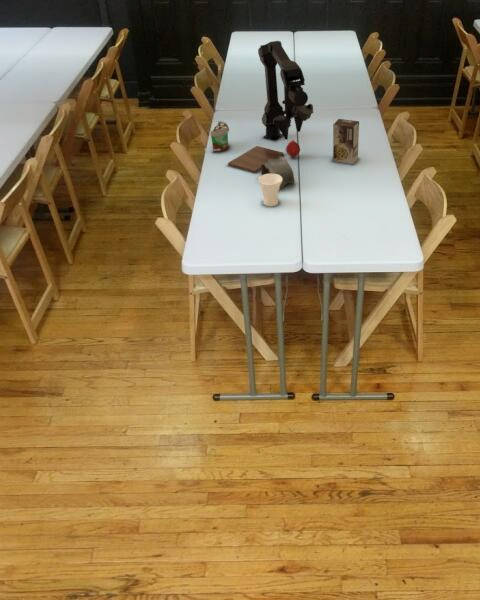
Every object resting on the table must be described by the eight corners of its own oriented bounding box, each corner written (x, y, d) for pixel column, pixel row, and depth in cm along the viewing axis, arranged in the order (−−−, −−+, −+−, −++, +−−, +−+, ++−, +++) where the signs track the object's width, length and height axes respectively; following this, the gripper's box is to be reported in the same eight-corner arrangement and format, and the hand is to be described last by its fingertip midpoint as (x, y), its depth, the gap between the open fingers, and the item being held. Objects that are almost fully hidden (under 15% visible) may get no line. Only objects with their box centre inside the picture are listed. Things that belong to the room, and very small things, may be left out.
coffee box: (358, 158, 261) (359, 121, 251) (353, 164, 256) (354, 126, 247) (338, 155, 264) (338, 118, 254) (332, 161, 260) (332, 123, 250)
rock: (257, 173, 252) (256, 155, 248) (284, 169, 255) (283, 151, 250) (268, 193, 238) (267, 174, 234) (297, 189, 241) (296, 170, 236)
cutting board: (256, 148, 272) (256, 145, 272) (283, 155, 266) (283, 152, 265) (228, 165, 259) (228, 162, 258) (255, 173, 253) (255, 170, 252)
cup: (275, 210, 227) (274, 185, 221) (254, 204, 232) (253, 180, 226) (288, 200, 233) (288, 176, 227) (268, 195, 237) (266, 170, 231)
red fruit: (285, 155, 266) (285, 137, 261) (299, 154, 266) (299, 136, 261) (287, 161, 261) (286, 142, 256) (300, 160, 261) (300, 142, 257)
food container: (226, 154, 268) (224, 132, 262) (212, 153, 269) (210, 131, 263) (234, 143, 277) (232, 121, 271) (220, 142, 279) (218, 120, 273)
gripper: (295, 109, 239) (296, 147, 248) (321, 94, 251) (321, 131, 260) (271, 103, 244) (273, 142, 253) (298, 89, 256) (298, 126, 265)
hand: (292, 135), depth 258 cm, fingers open, 9 cm apart
